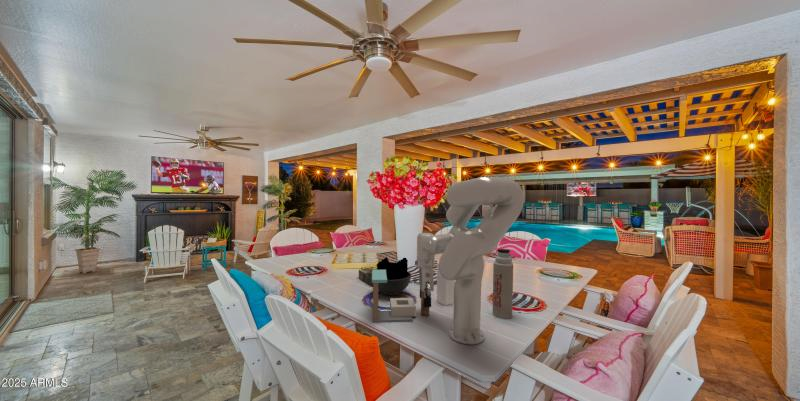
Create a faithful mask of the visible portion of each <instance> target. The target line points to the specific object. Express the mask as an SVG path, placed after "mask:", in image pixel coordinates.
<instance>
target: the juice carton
mask: <svg viewBox="0 0 800 401" xmlns="http://www.w3.org/2000/svg"><path fill="white" fill-rule="evenodd" d="M372 270H376V269H375V268H374V267H367V268H362V269H358V279H359V280H360V281H362V282H364V283H366V284H367V285H368V286H370V287H372V288H373V283H372Z"/></svg>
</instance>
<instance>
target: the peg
mask: <svg viewBox="0 0 800 401" xmlns="http://www.w3.org/2000/svg"><path fill="white" fill-rule="evenodd" d="M425 290H427V289H425ZM425 293H427V292H425ZM423 297H424V292H423V291H422V290H421V298H420V316H422V317H424V318H425V317H430V307H423Z"/></svg>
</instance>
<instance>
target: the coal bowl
mask: <svg viewBox="0 0 800 401" xmlns="http://www.w3.org/2000/svg"><path fill="white" fill-rule="evenodd" d="M408 263H409V261H408V258H407V257H403V258H402V259H400V260H399V259H398V261H397V262H390V260H389V258H388V257H387V256H386V257H385V258H382V259H381V260H380V261H378V262H377V263H376V265H375V266H376V270H386V275H387V283H378V292H380V293H383V294H384V295H387V294H388V295H389V296H395V295H399V294H401V293H403V292H404V291H406V289H407V287H408V286H409V284H410V282H411V278H412V274H411V272H409V271H408V268H409V267H408ZM398 293H399V294H398ZM394 294H395V295H394ZM388 295H387V296H388Z"/></svg>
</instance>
